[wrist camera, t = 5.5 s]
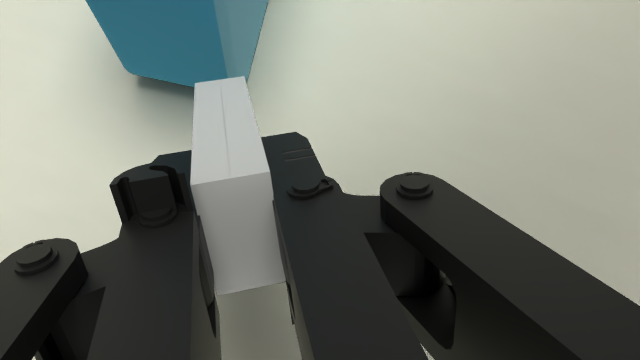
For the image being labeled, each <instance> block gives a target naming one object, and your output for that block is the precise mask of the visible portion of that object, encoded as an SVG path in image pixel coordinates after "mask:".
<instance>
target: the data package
mask: <svg viewBox="0 0 640 360" xmlns="http://www.w3.org/2000/svg"><path fill="white" fill-rule="evenodd" d="M86 2H87V4H88V5H89V7H90V9H91V10H92V12H93V14H94V16H95V17H96V19H97V21H98V23H99V24H100V26H101V28H102V30H103V31H104V33H105V35H106V37H107V38H108V40H109V42H110V43H111V45H112V47H113V49H114V50H115V52H116V54H117V56H118V57H119V59H120V61H121V63H122V64H123V66H124V67H125V69H126V70H127V71H128V72H130V73H132V74H135V75H139V76H144V77H149V78H153V79H158V80H163V81H167V82H172V83H177V84H181V85H186V86H191V87H195V83H199V82H206V81H213V80H220V79H227V78H235V77H242V76H244V77H245V81H246V82H247V79H248V75H249V72H250V68H251V64H252V60H253V57H254V53H255V49H256V45H257V41H258V38H259V34H260V30H261V26H262V23H263V19H264V15H265V11H266V7H267V4H268V0H86Z"/></svg>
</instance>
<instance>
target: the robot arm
mask: <svg viewBox="0 0 640 360" xmlns="http://www.w3.org/2000/svg"><path fill="white" fill-rule="evenodd" d="M109 186H110V189H111V192H112V195H113V198H114V201H115V204H116V206H117V209H118V212H119V215H120V218H121V221H122V227H121V230H120V234H119V238H117V239H116V240H114V241H112V242H110V243H107V244H105V245H103V246H100V247H98V248H95V249H92V250H89V251H87V252H84V253H81V254H80V251H79V249H78V246H77V244H76V243H75V242H73V241H71V240H69V239H61V238H54V239H48V240H40V241H36V242H35V243H31V244H28V245H26V246H24V247H23V248H21V249H19V250H17V251H16V252H14V253H12V254H11V255H9V256H8V257H7V258H6V259H4V260H3V261H2V262H1V263H0V360H32V358H33V357H35V358H36V360H221V345H220V323H219V311H218V307H217V303H216V299H215V294H214V285H215V289H216V293H217V296H219V295H224V294H229V293H234V292H239V291H244V290H249V289H254V288H258V287H263V286H268V285H273V284H278V283H283V282H286V285H287V291H288V298H289V305H290V311H291V318H292V325H293V324H294V325H295V329H296V333H297V338H298V342H299V347H300V351H301V356H302V360H428V358H427V356H426V354H425V352H424V350H423V348H422V346H423V347H424V348H425V349H426V350H427V351H428V352H429V354H430V355H431V356H432V357H433V358H434V359H435V360H640V306H639V305H637V304H636V303H634V302H633V301H631V300H629V299H628V298H626V297H625V296H623V295H622V294H620V293H619V292H617V291H615V290H614V289H612V288H611V287H609V286H608V285H606V284H605V283H603V282H601V281H600V280H598V279H597V278H595V277H594V276H592V275H590V274H589V273H587V272H586V271H584V270H583V269H581V268H580V267H578V266H576V265H575V264H573V263H572V262H570V261H569V260H567V259H565V258H564V257H562V256H561V255H559V254H558V253H556V252H555V251H553V250H551V249H550V248H548V247H547V246H545V245H544V244H542V243H540V242H539V241H537V240H536V239H534V238H533V237H531V236H530V235H528V234H526V233H525V232H523V231H522V230H520V229H519V228H517V227H516V226H514V225H512V224H511V223H509V222H508V221H506V220H505V219H503V218H501V217H500V216H498V215H497V214H495V213H494V212H492V211H491V210H489V209H487V208H486V207H484V206H483V205H481V204H480V203H478V202H476V201H475V200H473V199H472V198H470V197H469V196H467V195H466V194H464V193H462V192H461V191H459V190H458V189H456V188H455V187H453V186H452V185H450V184H448V183H447V182H445V181H444V180H442V179H440V178H437V177H435V176H433V175H428V174H423V173H420V172H414V173H412V172H409V173H404V174H400V175H395V176H393V177H391V178H389V179H387V180H385V181H384V182H383V184H382V185H381V186H380V196H358V195H350V194H346V193H343V192H342V190H341V188H340V186H339V184H338V183H337V182H336V181H335V180H334V179H332V178H330V177H327V176H325V174H324V172H323V170H322V168H321V166H320V164H319V162H318V160H317V158H316V156H315V153H314V151H313V149H312V148H311V145H310V143H309V141H308V139H307V138H306V137H304V136H302V135H300V134H299V133H297V132H292V133H286V134H280V135H273V136H267V137H261V136H260V133H259V129H258V125H257V122H256V118H255V114H254V111H253V107H252V103H251V99H250V96H249V92H248V88H247V85H246V81H245V77H244V76H242V77H235V78H227V79H220V80H213V81H206V82H199V83H195V91H194V113H193V135H192V150H189V151H183V152H177V153H171V154H164V155H159V156H158V157H157V158H156V159H155V160H154V161H153V162H152V163H149V164H145V165H141V166H137V167H135V168H132V169H130V170H127V171H125V172H123V173H122V174H120V175H119V176H117V177H116V178H114V180H113V181H112V182H111V184H110V185H109ZM420 343H421V344H422V346H421V344H420Z"/></svg>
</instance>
